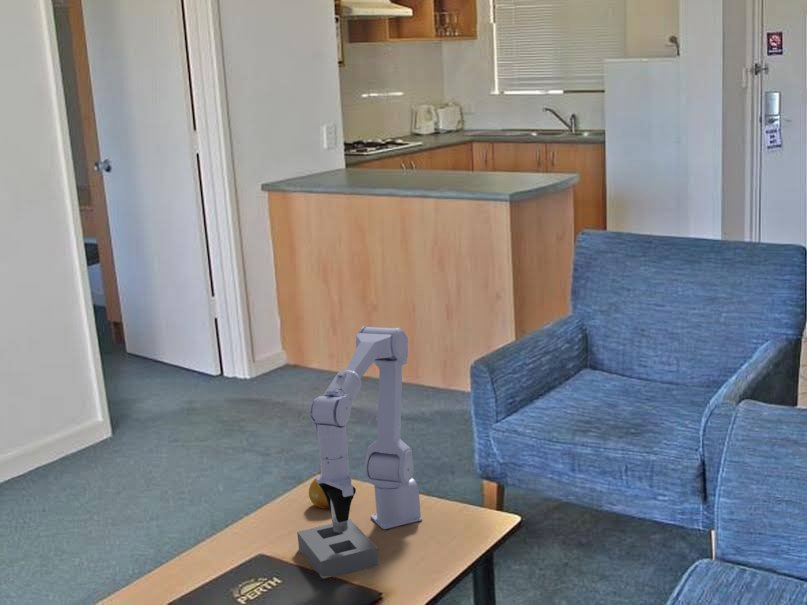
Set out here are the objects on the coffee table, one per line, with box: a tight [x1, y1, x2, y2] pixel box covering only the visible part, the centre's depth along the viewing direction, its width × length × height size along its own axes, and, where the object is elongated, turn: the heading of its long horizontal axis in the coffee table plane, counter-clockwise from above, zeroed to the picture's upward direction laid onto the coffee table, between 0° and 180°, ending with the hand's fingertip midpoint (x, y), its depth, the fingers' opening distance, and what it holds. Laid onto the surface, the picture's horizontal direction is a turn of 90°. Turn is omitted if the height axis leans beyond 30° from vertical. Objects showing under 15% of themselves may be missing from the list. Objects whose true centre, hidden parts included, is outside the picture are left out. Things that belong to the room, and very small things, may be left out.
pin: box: [330, 499, 348, 532], centre depth 212 cm, size 3×3×7 cm
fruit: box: [308, 474, 329, 509], centre depth 244 cm, size 8×8×8 cm
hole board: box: [296, 518, 379, 578], centre depth 218 cm, size 12×16×4 cm
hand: (339, 517), depth 212 cm, fingers closed on pin, 3 cm apart
